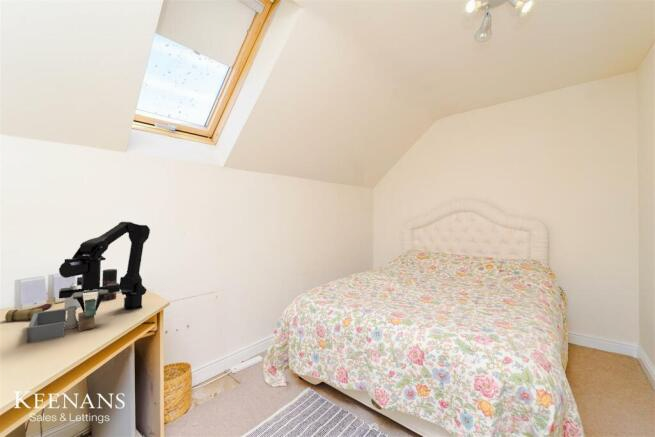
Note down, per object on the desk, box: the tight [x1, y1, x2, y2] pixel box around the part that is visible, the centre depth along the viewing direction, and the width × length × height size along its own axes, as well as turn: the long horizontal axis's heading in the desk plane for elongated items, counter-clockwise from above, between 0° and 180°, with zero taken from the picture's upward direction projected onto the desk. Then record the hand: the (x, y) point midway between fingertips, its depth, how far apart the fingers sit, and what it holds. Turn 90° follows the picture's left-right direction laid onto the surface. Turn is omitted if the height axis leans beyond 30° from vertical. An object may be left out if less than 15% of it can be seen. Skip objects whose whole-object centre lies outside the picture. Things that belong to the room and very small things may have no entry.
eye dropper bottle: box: [64, 281, 81, 309], centre depth 135 cm, size 4×6×12 cm
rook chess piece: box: [64, 306, 79, 330], centre depth 113 cm, size 4×4×8 cm
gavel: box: [4, 303, 53, 323], centre depth 126 cm, size 21×5×10 cm
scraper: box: [77, 298, 97, 332], centre depth 116 cm, size 5×14×9 cm, turn 41°
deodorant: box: [101, 268, 118, 302], centre depth 150 cm, size 6×6×15 cm
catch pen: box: [26, 308, 67, 344], centre depth 108 cm, size 9×19×5 cm, turn 41°
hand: (90, 311), depth 116 cm, fingers open, 3 cm apart
